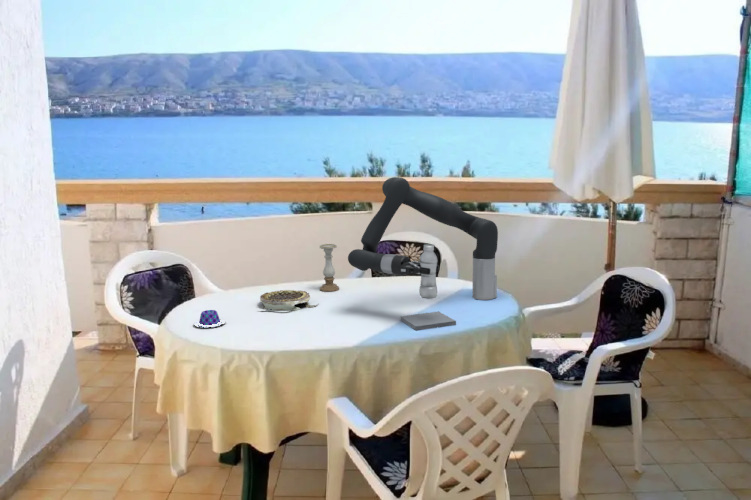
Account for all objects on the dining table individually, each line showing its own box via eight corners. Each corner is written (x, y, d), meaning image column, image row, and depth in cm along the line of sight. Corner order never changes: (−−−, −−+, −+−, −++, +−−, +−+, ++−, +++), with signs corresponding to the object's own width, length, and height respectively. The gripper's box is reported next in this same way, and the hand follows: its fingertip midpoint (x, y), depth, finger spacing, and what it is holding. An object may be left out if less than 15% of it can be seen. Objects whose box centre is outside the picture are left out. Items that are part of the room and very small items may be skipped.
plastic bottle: (436, 301, 235) (437, 247, 231) (417, 300, 237) (418, 246, 233) (438, 296, 241) (439, 243, 238) (420, 295, 243) (420, 243, 239)
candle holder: (343, 288, 294) (341, 244, 290) (331, 292, 287) (330, 247, 283) (327, 286, 299) (326, 243, 295) (315, 290, 292) (314, 246, 288)
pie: (238, 310, 263) (238, 298, 262) (273, 295, 288) (273, 284, 287) (299, 316, 252) (299, 304, 251) (330, 300, 277) (330, 289, 276)
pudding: (190, 323, 245) (189, 310, 245) (222, 319, 251) (221, 305, 250) (196, 331, 235) (195, 317, 234) (229, 326, 240) (228, 313, 239)
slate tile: (438, 315, 249) (438, 311, 248) (456, 324, 236) (456, 320, 235) (400, 320, 243) (400, 316, 243) (415, 330, 230) (415, 326, 230)
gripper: (384, 258, 238) (424, 263, 229) (405, 252, 250) (444, 256, 241) (385, 278, 240) (424, 283, 230) (405, 270, 251) (443, 276, 242)
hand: (434, 269), depth 235 cm, fingers closed on plastic bottle, 6 cm apart
